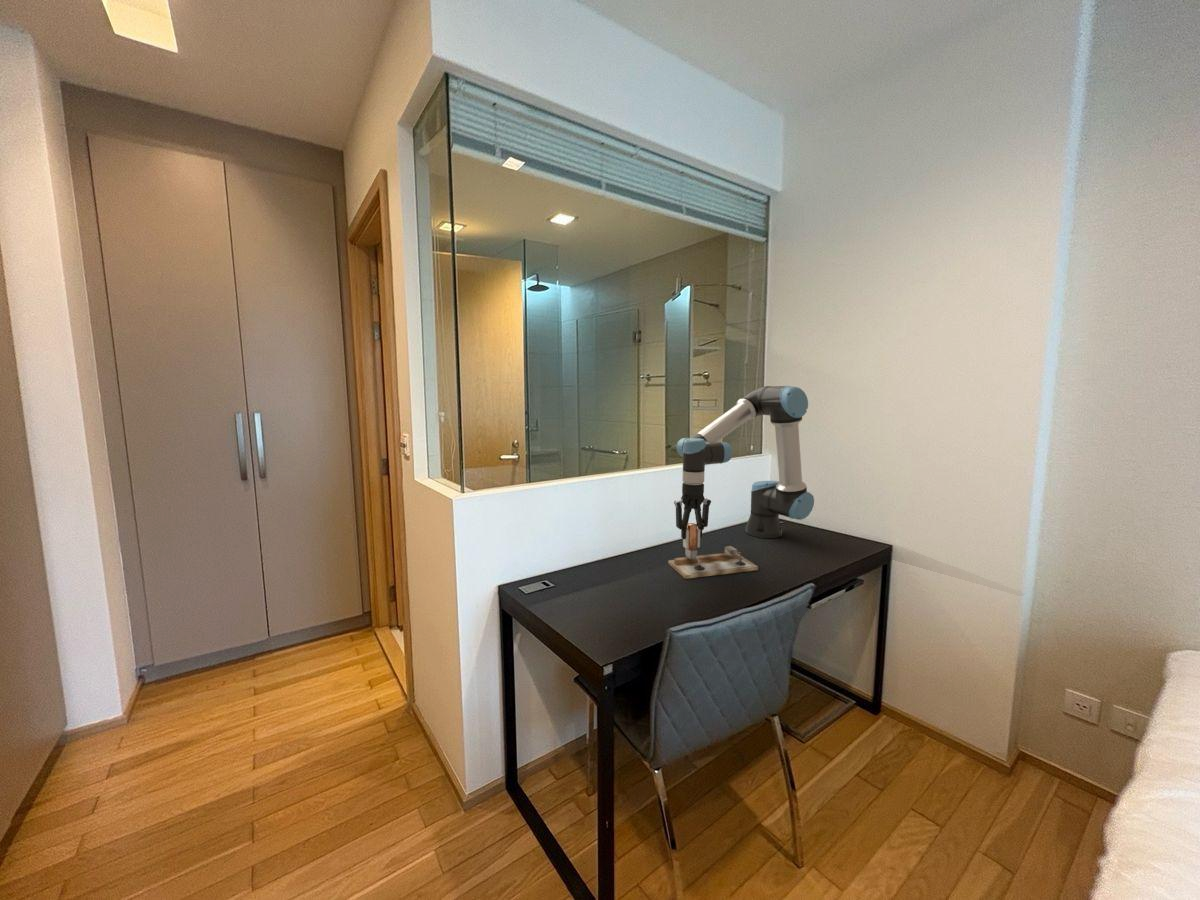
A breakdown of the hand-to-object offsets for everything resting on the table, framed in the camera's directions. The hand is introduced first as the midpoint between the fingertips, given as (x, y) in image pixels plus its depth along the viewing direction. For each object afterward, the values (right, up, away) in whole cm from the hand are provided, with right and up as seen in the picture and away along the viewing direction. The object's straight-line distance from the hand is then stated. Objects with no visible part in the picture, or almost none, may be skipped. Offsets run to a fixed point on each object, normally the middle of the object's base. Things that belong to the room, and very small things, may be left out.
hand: (691, 546), depth 170 cm
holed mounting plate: (+8, -7, 0) cm, 10 cm away
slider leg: (+1, -5, -2) cm, 6 cm away
